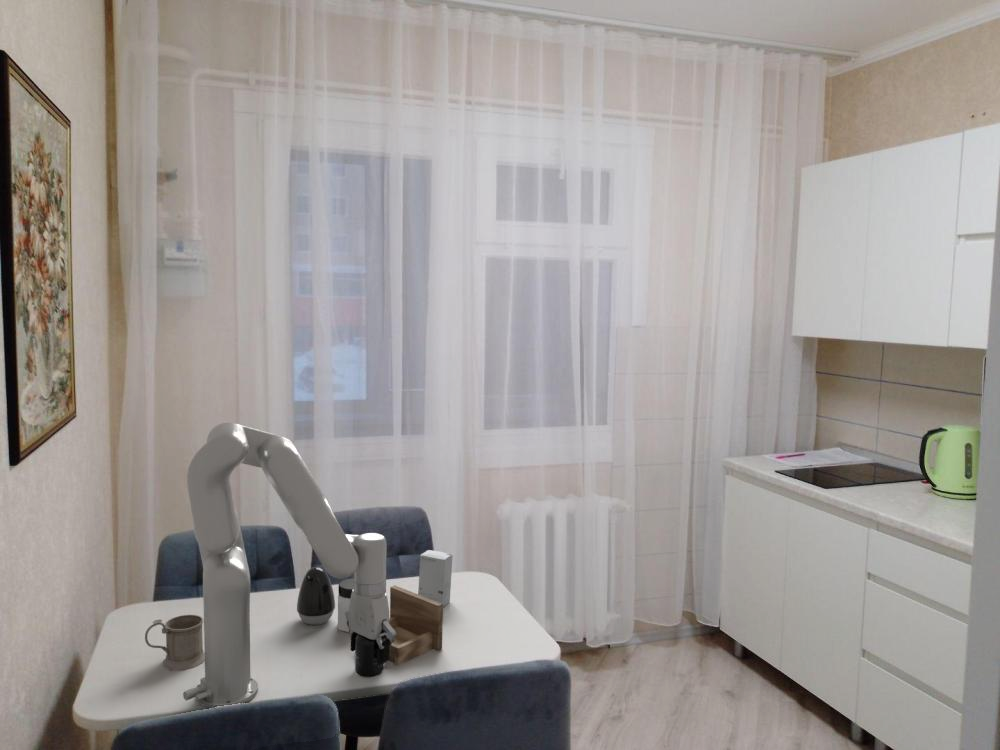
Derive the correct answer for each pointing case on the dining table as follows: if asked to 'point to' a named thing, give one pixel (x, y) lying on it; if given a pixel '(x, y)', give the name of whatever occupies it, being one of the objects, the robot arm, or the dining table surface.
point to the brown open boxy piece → (413, 625)
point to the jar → (344, 602)
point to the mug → (181, 642)
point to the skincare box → (435, 576)
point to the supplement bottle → (367, 657)
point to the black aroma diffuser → (316, 597)
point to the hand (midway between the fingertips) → (369, 655)
